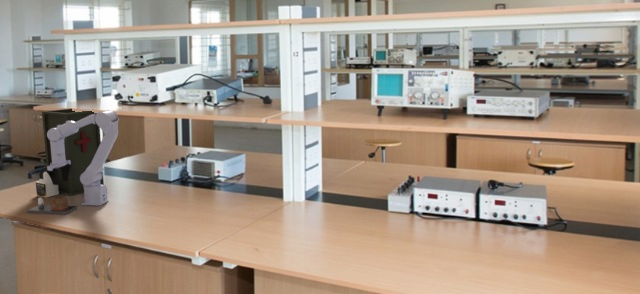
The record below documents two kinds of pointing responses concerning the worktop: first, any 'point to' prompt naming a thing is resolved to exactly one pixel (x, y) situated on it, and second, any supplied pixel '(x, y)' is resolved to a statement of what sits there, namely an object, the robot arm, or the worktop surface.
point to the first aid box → (73, 147)
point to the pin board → (49, 209)
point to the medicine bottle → (46, 186)
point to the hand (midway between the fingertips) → (60, 182)
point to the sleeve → (59, 203)
